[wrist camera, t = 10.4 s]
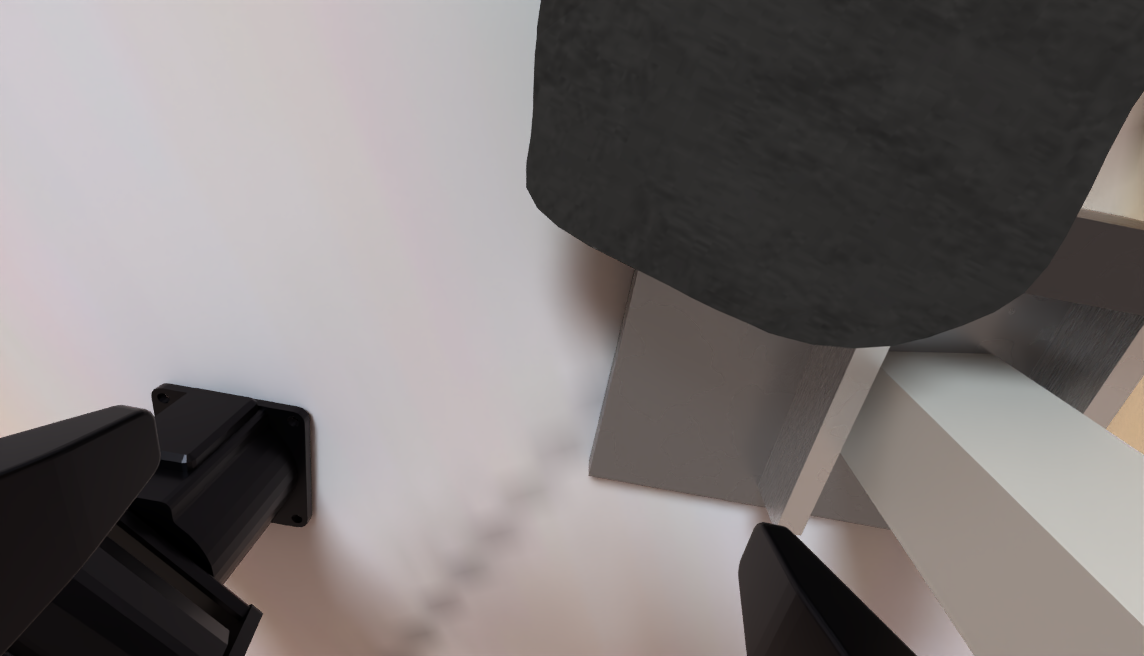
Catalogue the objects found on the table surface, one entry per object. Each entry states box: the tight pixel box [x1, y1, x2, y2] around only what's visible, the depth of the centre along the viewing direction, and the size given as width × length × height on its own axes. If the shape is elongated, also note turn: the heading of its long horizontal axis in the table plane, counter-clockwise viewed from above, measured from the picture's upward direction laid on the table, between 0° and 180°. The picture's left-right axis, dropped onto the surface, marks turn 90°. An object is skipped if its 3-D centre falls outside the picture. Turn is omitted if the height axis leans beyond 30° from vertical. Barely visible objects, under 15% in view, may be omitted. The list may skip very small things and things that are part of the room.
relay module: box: [840, 351, 1144, 656], centre depth 15 cm, size 4×5×12 cm
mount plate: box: [589, 208, 1144, 535], centre depth 18 cm, size 14×16×6 cm
